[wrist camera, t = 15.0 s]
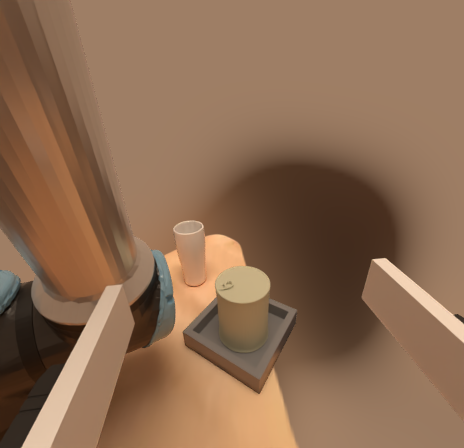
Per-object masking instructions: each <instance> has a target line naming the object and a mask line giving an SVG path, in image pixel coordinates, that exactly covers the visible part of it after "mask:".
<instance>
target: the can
mask: <svg viewBox="0 0 464 448" xmlns="http://www.w3.org/2000/svg"><path fill="white" fill-rule="evenodd" d="M215 288H216V294H217V304H218V316H219V336H220V339H221V341H222V343H223V344H224V345H225V346H226V347H227V348H229V349H230V350H232V351H235V352H238V353H250V352H253V351H256V350H258V349H259V348H261V347H262V346H263V345H264V343H265V342H266V340H267V338H268V308H269V292H270V280H269V278H268V277H267V276H266V274H265V273H263V272H262V271H261V270H258V269H256V268H253V267H249V266H237V267H232V268H229V269H227V270H225V271H223V272H222V273H221V274H220V275H219V276H218V277H217V279H216V282H215Z"/></svg>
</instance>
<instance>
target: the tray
mask: <svg viewBox="0 0 464 448" xmlns="http://www.w3.org/2000/svg"><path fill="white" fill-rule="evenodd" d="M296 315H297V310H295V309H293V308H291V307H289V306H286V305H284V304H281V303H279V302H277V301H274V300H272V299H270V298H269V308H268V338H267V340H266V342H265V343H264V345H263V346H262V347H261V348H259V349H258V350H256V351H253V352H250V353H238V352H235V351H232V350H230V349H229V348H227V347H226V346H225V345H224V344H223V343H222V341H221V339H220V336H219V316H218V304H217V297H216V298H215V299H214V300H213V301H212V302H211V303H210V304H209V305H208V306H207V307H206V308H205V309H204V310H203V311H202V313H201V314H200V315H199V316H198V317H197V318H196V319H195V320H194V321H193V322H192V323H191V324H190V325H189V326H188V327H187V328H186V329H185V330H184V331H183V336H184V341H185V345H186V346H187V347H189V348H190V349H192V350H194V351H195V352H197V353H198V354H200V355H201V356H203V357H204V358H206V359H207V360H209V361H210V362H212V363H213V364H215V365H216V366H218V367H219V368H221V369H222V370H224V371H225V372H227V373H228V374H230V375H231V376H233V377H234V378H236V379H237V380H239V381H241V382H242V383H244V384H245V385H247V386H248V387H250V388H251V389H253V390H254V391H256V392H257V393H260V391H261V390H262V388H263V386H264V384H265V382H266V380H267V378H268V376H269V374H270V372H271V370H272V368H273V366H274V364H275V362H276V360H277V358H278V356H279V354H280V352H281V350H282V348H283V346H284V345H285V343H286V341H287V339H288V337H289V335H290V333H291V331H292V329H293V327H294V325H295V323H296Z"/></svg>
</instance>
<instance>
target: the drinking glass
mask: <svg viewBox="0 0 464 448" xmlns="http://www.w3.org/2000/svg"><path fill="white" fill-rule="evenodd" d="M173 231H174V238H175V245H176V249H177V252H178V256H179V260H180V263H181V267H182V271H183V275H184V280H185V283H186V284H187V285H189V286H198V285H201V284H202V283H204V281H205V280H206V270H205V233H204V227H203V224H202V223H201V222H198V221H184V222H181V223H179V224H177V225H176V226H175V227H174V229H173Z"/></svg>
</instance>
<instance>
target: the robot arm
mask: <svg viewBox="0 0 464 448" xmlns="http://www.w3.org/2000/svg"><path fill="white" fill-rule="evenodd" d="M0 229H1V230H2V231H3V232H4V234H5V235H6V236H7V237H8V239H9V240H10V241H11V243H12V244H13V245H14V247H15V248H16V249H17V251H18V252H19V253H20V254H21V256H22V257H23V258H24V260H25V261H26V262H27V263H28V265H29V266H30V267H31V268H32V270H33V271H34V272H35V274H36V276H35V278H34V281H30V282H26V283H20V282H21V280H20V278H19V277H18V276H17V275H14V273H12V272H11V271H7V270H0V448H97V444H98V441H99V438H100V435H101V432H102V428H103V425H104V422H105V419H106V415H107V412H108V409H109V406H110V402H111V399H112V396H113V393H114V389H115V386H116V383H117V380H118V376H119V373H120V370H121V367H122V363H123V360H124V357H125V354H126V353H129V352H132V351H134V350H137V349H139V348H146V347H149V346H150V345H151V344H153V343H154V342H156V341H158V340H160V339H162V338H165V337H166V336H168V335H169V334H170V333H171V331H172V330H173V327H174V324H175V301H174V298H173V286H172V280H171V276H170V272H169V268H168V265H167V262H166V259H165V257H164V255H163V254H162V253H161V252H160V251H158V250H150V248H149V247H148V245H147V244H146V243H145V242H144V241H142V240H141V239H139V238H137V237H135V236H133V233H132V229H131V225H130V221H129V218H128V214H127V210H126V207H125V203H124V199H123V195H122V192H121V188H120V185H119V180H118V177H117V173H116V169H115V166H114V162H113V158H112V154H111V151H110V147H109V143H108V140H107V136H106V132H105V128H104V124H103V121H102V117H101V114H100V110H99V106H98V102H97V98H96V95H95V91H94V87H93V83H92V80H91V76H90V72H89V68H88V65H87V61H86V57H85V53H84V50H83V46H82V42H81V38H80V35H79V31H78V27H77V23H76V20H75V16H74V12H73V8H72V5H71V1H70V0H0ZM362 299H363V300H364V301H365V303H366V304H367V305H368V306H369V307H370V309H371V310H372V311H373V312H374V313H375V315H376V316H377V317H378V318H379V320H380V321H381V322H382V323H383V324H384V326H385V327H386V328H387V329H388V331H389V332H390V333H391V334H392V335H393V336H394V338H395V339H396V340H397V341H398V343H399V344H400V345H401V346H402V347H403V348H404V350H405V351H406V352H407V354H408V355H409V356H410V357H411V358H412V360H413V361H414V362H415V363H416V365H417V366H418V367H419V368H420V369H421V371H422V372H423V373H424V374H425V375H426V377H427V378H428V379H429V380H430V381H431V383H432V384H433V385H434V386H435V388H436V389H437V390H438V391H439V392H440V394H441V395H442V396H443V397H444V399H445V400H446V401H447V402H448V403H449V405H450V406H451V407H452V408H453V409H454V411H455V412H456V413H457V414H458V415H459V417H460V418H461V419H462V420H463V422H464V318H463V317H462V316H460V315H458V314H455V315H453V314H451V313H450V312H449V311H448V310H447V309H445V308H444V307H443V306H442V305H441V304H439V303H438V302H437V301H436V300H435V299H433V298H432V297H431V296H430V295H429V294H427V293H426V292H425V291H424V290H423V289H422V288H420V287H419V286H418V285H417V284H416V283H414V282H413V281H412V280H411V279H410V278H408V277H407V276H406V275H405V274H403V273H402V272H401V271H400V270H399V269H398V268H396V267H395V266H394V265H393V264H392V263H390V262H389V261H388V260H387V259H386V258H383V259H373V260H372V262H371V266H370V269H369V273H368V276H367V280H366V284H365V287H364V291H363V294H362Z"/></svg>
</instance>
